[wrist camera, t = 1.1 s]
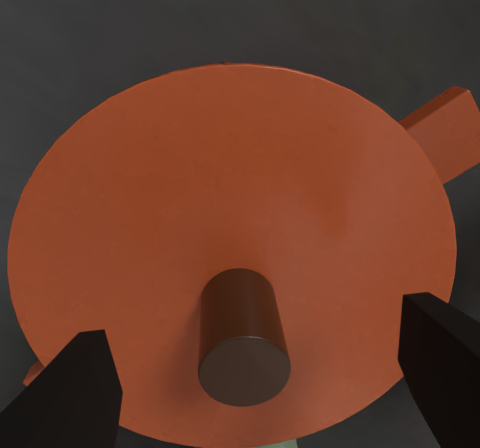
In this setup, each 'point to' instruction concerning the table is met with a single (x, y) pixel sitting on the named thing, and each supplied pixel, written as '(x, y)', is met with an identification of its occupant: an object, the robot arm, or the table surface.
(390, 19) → the table surface
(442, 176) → the pan
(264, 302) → the pan lid
